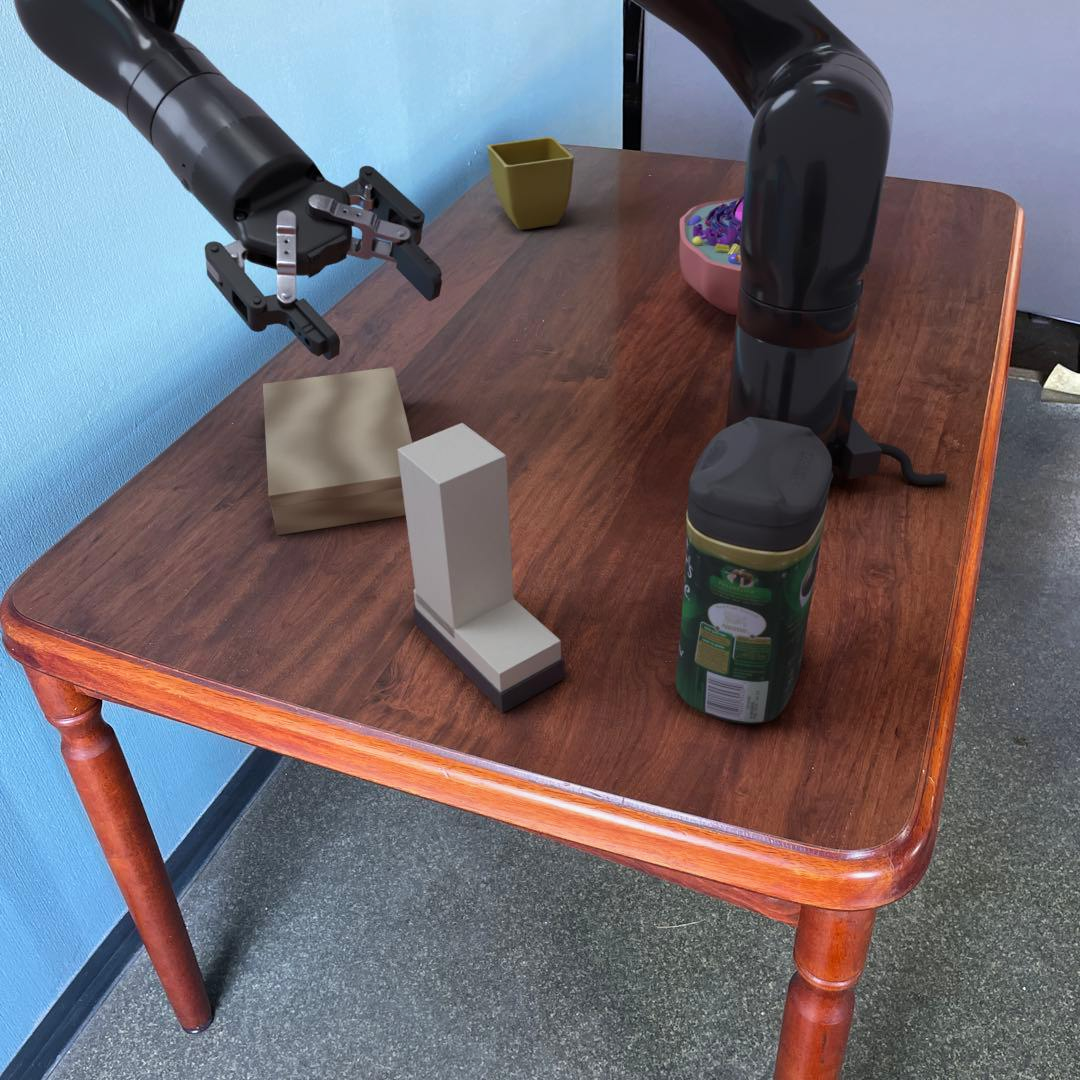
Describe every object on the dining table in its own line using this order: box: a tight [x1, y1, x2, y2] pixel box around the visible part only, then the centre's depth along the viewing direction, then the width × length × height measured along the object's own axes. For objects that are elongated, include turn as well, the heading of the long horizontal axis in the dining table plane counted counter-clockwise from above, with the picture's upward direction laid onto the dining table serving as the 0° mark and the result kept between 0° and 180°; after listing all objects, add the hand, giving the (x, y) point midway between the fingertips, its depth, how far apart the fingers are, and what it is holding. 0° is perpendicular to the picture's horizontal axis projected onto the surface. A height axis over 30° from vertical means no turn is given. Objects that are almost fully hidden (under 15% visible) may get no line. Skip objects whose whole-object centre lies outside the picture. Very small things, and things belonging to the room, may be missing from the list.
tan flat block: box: [262, 366, 414, 536], centre depth 93 cm, size 12×18×4 cm, turn 13°
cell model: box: [678, 194, 744, 317], centre depth 114 cm, size 17×20×11 cm
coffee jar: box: [675, 417, 833, 725], centre depth 67 cm, size 10×8×19 cm
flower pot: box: [487, 136, 575, 231], centre depth 134 cm, size 9×9×9 cm
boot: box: [397, 422, 565, 714], centre depth 71 cm, size 11×5×16 cm, turn 37°
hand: (387, 319), depth 70 cm, fingers open, 8 cm apart
